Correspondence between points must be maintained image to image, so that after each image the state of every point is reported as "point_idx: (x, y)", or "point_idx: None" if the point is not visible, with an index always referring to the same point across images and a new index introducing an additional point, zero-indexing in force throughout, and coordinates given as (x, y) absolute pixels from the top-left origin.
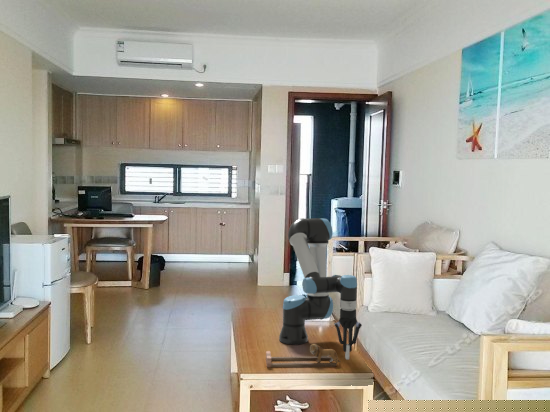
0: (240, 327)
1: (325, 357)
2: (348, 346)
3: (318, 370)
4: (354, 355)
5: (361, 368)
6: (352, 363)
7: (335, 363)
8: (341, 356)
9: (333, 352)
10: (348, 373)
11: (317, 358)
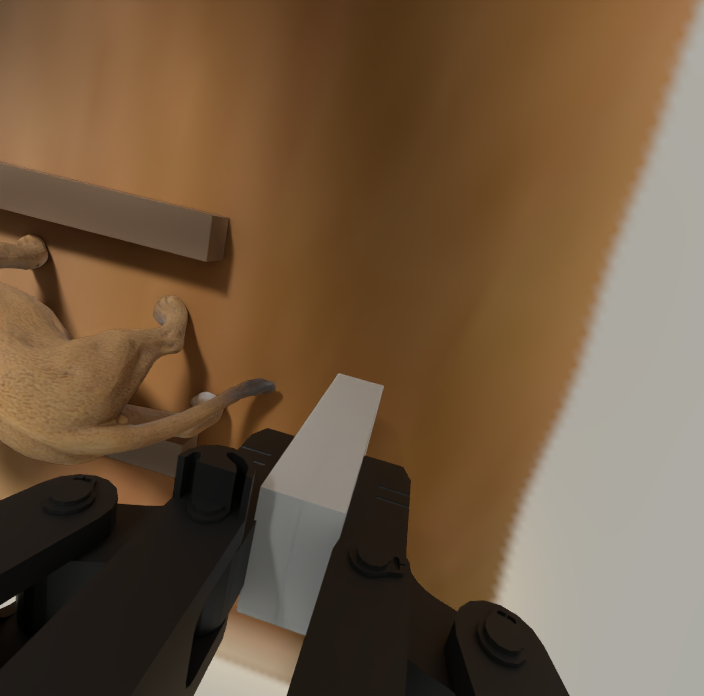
0: None
1: (108, 229)
2: (293, 609)
3: (7, 494)
4: (625, 139)
5: (440, 599)
6: (415, 438)
7: (173, 463)
8: (392, 139)
9: (69, 461)
10: (251, 648)
11: (18, 212)
